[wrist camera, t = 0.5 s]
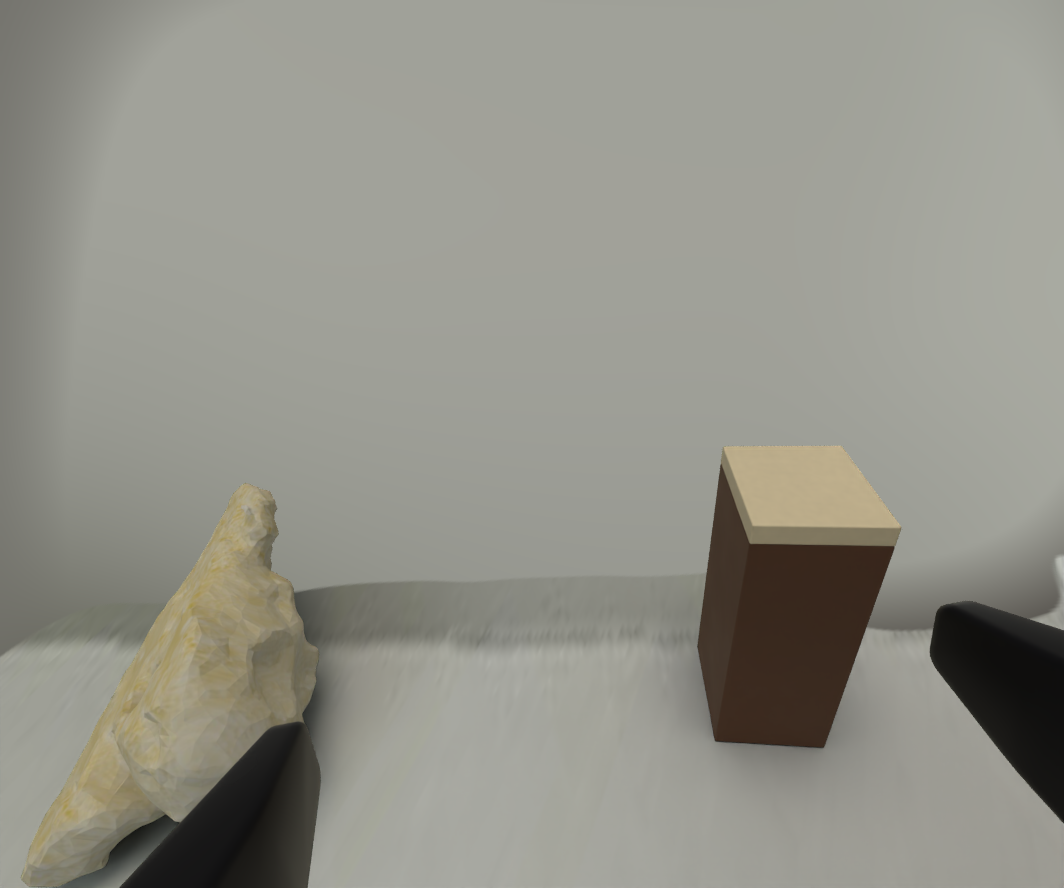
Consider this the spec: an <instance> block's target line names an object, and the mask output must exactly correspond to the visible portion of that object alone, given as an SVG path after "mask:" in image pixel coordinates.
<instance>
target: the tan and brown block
mask: <svg viewBox="0 0 1064 888" xmlns="http://www.w3.org/2000/svg"><path fill="white" fill-rule="evenodd" d="M900 531H901V526H900V525H899V523H898V522H897V521H896V519H895V518H894V516H893V515H892V514H891V512H890V511H889V510H888V508H887V507H886V506H885V504H884V503H883V502H882V500H881V499H880V497H879V496H878V495H877V493H876V492H875V491H874V490H873V488H872V487H871V485H870V484H869V483H868V481H867V480H866V479H865V477H864V476H863V475H862V473H861V472H860V470H859V469H858V468H857V466H856V465H855V464H854V462H853V461H852V460H851V458H850V457H849V455H848V454H847V453H846V451H845V450H844V449H843V447H842V446H738V447H737V446H733V447H732V446H727V447H726V446H725V447H723V451H722V458H721V466H720V474H719V481H718V490H717V497H716V505H715V513H714V521H713V528H712V536H711V544H710V552H709V560H708V568H707V575H706V583H705V591H704V599H703V607H702V615H701V622H700V630H699V638H698V646H697V647H698V652H699V657H700V663H701V668H702V673H703V679H704V684H705V689H706V695H707V700H708V706H709V711H710V716H711V722H712V727H713V732H714V738H715V741H726V742H742V743H759V744H775V745H792V746H808V747H824V746H825V743H826V740H827V738H828V735H829V732H830V729H831V726H832V723H833V721H834V718H835V715H836V712H837V709H838V706H839V704H840V701H841V698H842V695H843V692H844V689H845V687H846V684H847V681H848V678H849V675H850V672H851V670H852V667H853V664H854V661H855V658H856V656H857V653H858V650H859V647H860V644H861V641H862V639H863V636H864V633H865V630H866V627H867V624H868V622H869V619H870V616H871V613H872V610H873V607H874V605H875V602H876V599H877V596H878V593H879V590H880V588H881V585H882V582H883V579H884V576H885V573H886V571H887V568H888V565H889V562H890V559H891V557H892V554H893V551H894V546H895V545H896V542H897V539H898V537H899V534H900Z"/></svg>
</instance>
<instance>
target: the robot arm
mask: <svg viewBox="0 0 1064 888" xmlns="http://www.w3.org/2000/svg"><path fill="white" fill-rule="evenodd" d="M930 657H931V660H932V662H933V664H934V666H935V668H936V669H937V671H938V672H939V673H940V675H941V676H942V677H943V678H944V680H945V681H946V682H947V684H948V685H949V686H950V687H951V689H952V690H953V691H954V692H955V694H956V695H957V696H958V698H959V699H960V700H961V701H962V703H963V704H964V705H965V707H966V708H967V709H968V710H969V712H970V713H971V714H972V715H973V717H974V718H975V719H976V721H977V722H978V723H979V724H980V726H981V727H982V728H983V730H984V731H985V732H986V733H987V735H988V736H989V737H990V738H991V740H992V741H993V742H994V744H995V745H996V746H997V747H998V749H999V750H1000V751H1001V753H1002V754H1003V755H1004V756H1005V757H1006V759H1007V760H1008V761H1009V762H1010V764H1011V765H1012V766H1013V767H1014V768H1015V770H1016V771H1017V772H1018V773H1019V774H1020V775H1021V777H1022V778H1023V779H1024V780H1025V781H1026V782H1027V783H1028V785H1029V786H1030V787H1031V788H1032V789H1033V790H1034V791H1035V792H1036V794H1037V795H1038V796H1039V797H1040V798H1041V799H1042V800H1043V801H1044V802H1045V803H1046V805H1047V806H1048V807H1049V808H1050V809H1051V810H1052V811H1053V812H1054V813H1055V814H1056V815H1057V817H1058V818H1059V819H1060V820H1061V821H1062V822H1063V823H1064V630H1061V629H1058V628H1055V627H1052V626H1048V625H1045V624H1042V623H1039V622H1036V621H1033V620H1030V619H1027V618H1023V617H1020V616H1017V615H1014V614H1011V613H1008V612H1005V611H1001V610H998V609H995V608H992V607H989V606H986V605H982V604H980V603H977V602H973V601H962V602H957V603H951V604H946V605H943V606H941V607H940V608H939V609H938V611H937V613H936V617H935V623H934V628H933V634H932V639H931V645H930ZM320 784H321V776H320V767H319V763H318V760H317V757H316V754H315V750H314V747H313V744H312V741H311V737H310V734H309V731H308V728H307V726H306V725H305V723H303V722H300V721H297V722H291V723H286V724H280V725H275V726H272V727H270V728H269V729H268V730H266V731H265V732H264V733H263V734H262V736H261V737H260V738H259V739H258V740H257V741H256V742H255V743H254V744H253V745H252V746H251V747H250V748H249V749H248V751H247V752H246V753H245V754H244V755H243V756H242V757H241V758H240V759H239V760H238V761H237V762H236V763H235V764H234V766H233V767H232V768H231V769H230V770H229V771H228V772H227V773H226V774H225V775H224V776H223V777H222V778H221V779H220V780H219V782H218V783H217V784H216V785H215V786H214V787H213V788H212V789H211V790H210V791H209V792H208V793H207V794H206V795H205V797H204V798H203V799H202V800H201V801H200V802H199V803H198V804H197V805H196V806H195V807H194V808H193V809H192V810H191V812H190V813H189V814H188V815H187V816H186V817H185V818H184V819H183V820H182V821H181V822H180V823H179V824H178V825H177V827H176V828H175V829H174V830H173V831H172V832H171V833H170V834H169V835H168V836H167V837H166V838H165V839H164V840H163V841H162V843H161V844H160V845H159V846H158V847H157V848H156V849H155V850H154V851H153V852H152V853H151V854H150V855H149V856H148V858H147V859H146V860H145V861H144V862H143V863H142V864H141V865H140V866H139V867H138V868H137V869H136V870H135V871H134V873H133V874H132V875H131V876H130V877H129V878H128V879H127V880H126V881H125V882H124V883H123V884H122V885H121V886H120V888H308V880H309V872H310V864H311V856H312V849H313V841H314V833H315V825H316V817H317V809H318V801H319V794H320Z"/></svg>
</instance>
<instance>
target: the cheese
mask: <svg viewBox="0 0 1064 888" xmlns="http://www.w3.org/2000/svg"><path fill="white" fill-rule="evenodd" d="M276 510H277V507H276V504H275V500H274V499H273V497H272V494H271V492H270V491H267V490H262V489H259V488H258V487H255V486H253V485H251V484H247V483H245V484H243V485H242V486H241V487H239V488H238V489H237V490H236V491H235V493H233V495H232V497H231V499H230V501H229V504H228V507H227V509H226V511H225V513H224V514H223V516H222V518H221V520H220V521H219V523H218V525H217V527H216V529H215V531H214V533H213V536H212V538H211V539H210V541H209V543H208V545H207V546H206V548H205V550H204V551H203V553H202V555H201V556H200V558H199V560H198V562H197V563H196V565H195V566H194V568H193V569H192V571H191V573H190V574H189V575H188V577H187V578H186V579H185V580H184V582H183V584H182V585H181V587H180V589H179V590H178V591H177V592H176V593H175V594H174V595H173V596H172V597H171V598H170V600H169V602H168V603H167V605H166V607H165V608H164V610H163V611H162V612H161V613H160V614H159V616H158V617H157V619H156V621H155V622H154V624H153V626H152V628H151V629H150V631H149V633H148V634H147V636H146V638H145V640H144V642H143V644H142V646H141V648H140V649H139V651H138V653H137V655H136V656H135V658H134V660H133V662H132V663H131V665H130V667H129V668H128V669H127V670H126V671H125V673H124V675H123V677H122V679H121V681H120V683H119V685H118V687H117V689H116V691H115V693H114V695H113V697H112V699H111V701H110V703H109V704H108V706H107V707H106V709H105V711H104V712H103V714H102V715H101V717H100V719H99V721H98V723H97V725H96V727H95V729H94V731H93V733H92V735H91V737H90V739H89V741H88V743H87V745H86V747H85V749H84V750H83V752H82V754H81V756H80V758H79V760H78V761H77V763H76V765H75V767H74V769H73V771H72V772H71V774H70V776H69V778H68V780H67V782H66V784H65V785H64V787H63V789H62V791H61V793H60V794H59V796H58V797H57V799H56V800H55V801H54V803H53V804H52V806H51V807H50V809H49V810H48V812H47V813H46V815H45V817H44V819H43V821H42V823H41V825H40V827H39V829H38V831H37V833H36V835H35V838H34V840H33V842H32V844H31V846H30V849H29V853H28V857H27V861H26V865H25V868H24V870H23V873H22V875H21V880H22V881H23V882H25V883H26V884H27V885H28V886H29V887H50V886H51V887H57V886H60V885H63V884H65V883H68V882H70V881H72V880H74V879H75V878H77V877H80V876H83V875H86V874H89V873H92V872H94V871H97V870H99V869H102V868H103V867H105V866H106V864H107V862H108V860H109V854H110V851H111V850H112V849H113V848H114V847H115V846H116V845H117V844H118V843H119V842H120V841H121V840H122V839H124V838H125V837H126V836H127V835H129V834H130V833H131V832H133V831H134V830H136V829H138V828H139V827H141V826H143V825H146V824H149V823H151V822H153V821H155V820H157V819H158V818H160V817H162V816H163V815H165V814H167V815H168V816H169V817H170V818H171V819H173V820H174V821H176V822H181V821H182V820H183V819H184V818H185V817H186V816H187V815H188V814H189V813H190V812H191V810H192V809H193V808H194V807H195V806H196V805H197V804H198V803H199V802H200V801H201V800H202V799H203V798H204V797H205V795H206V794H207V793H208V792H209V791H210V790H211V789H212V788H213V787H214V786H215V785H216V784H217V783H218V782H219V780H220V779H221V778H222V777H223V776H224V775H225V774H226V773H227V772H228V771H229V770H230V769H231V768H232V767H233V766H234V764H235V763H236V762H237V761H238V760H239V759H240V758H241V757H242V756H243V755H244V754H245V753H246V752H247V751H248V749H249V748H250V747H251V746H252V745H253V744H254V743H255V742H256V741H257V740H258V739H259V738H260V737H261V736H262V734H263V733H264V732H265V731H266V730H268V729H269V728H270V727H272V726H275V725H280V724H286V723H291V722H297V721H300V722H303V723H304V720H303V717H302V713H303V711H304V710H305V708H306V707H307V705H308V704H309V702H310V700H311V697H312V693H313V690H314V687H315V684H316V680H317V679H316V676H315V673H316V667H317V664H318V661H319V651H318V649H317V648H316V647H315V646H312V645H310V644H309V643H308V642H307V641H306V638H305V635H304V627H303V620H302V619H301V618H300V616H299V615H298V613H297V610H296V607H295V601H294V589H293V586H292V584H291V582H290V581H289V580H287V579H285V578H283V577H281V576H279V575H278V574H277V573H274V572H272V571H271V564H272V563H271V559H270V557H271V552H272V544H273V542H274V540H275V538H276V537H277V536H278V534H279V533H278V529H277V526H276V523H275V520H274V514H275V511H276Z"/></svg>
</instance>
